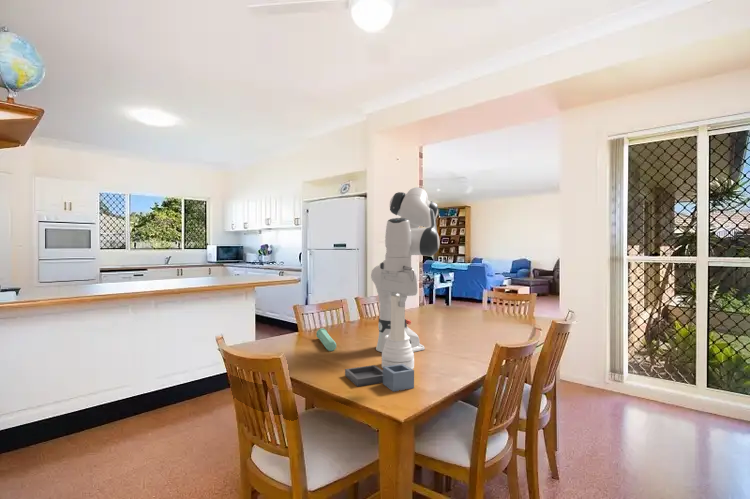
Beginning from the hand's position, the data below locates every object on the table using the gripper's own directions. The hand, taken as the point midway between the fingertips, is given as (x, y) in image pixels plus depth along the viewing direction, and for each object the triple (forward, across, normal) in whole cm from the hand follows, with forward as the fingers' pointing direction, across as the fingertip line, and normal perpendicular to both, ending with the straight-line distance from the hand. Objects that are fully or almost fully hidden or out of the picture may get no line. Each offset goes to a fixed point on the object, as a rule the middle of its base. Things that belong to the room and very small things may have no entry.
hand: (398, 305), depth 135 cm
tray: (+28, +11, +7) cm, 30 cm away
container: (+28, +62, +6) cm, 69 cm away
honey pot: (+28, +19, -10) cm, 35 cm away
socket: (+28, 0, 0) cm, 28 cm away
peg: (+12, 0, 0) cm, 12 cm away
